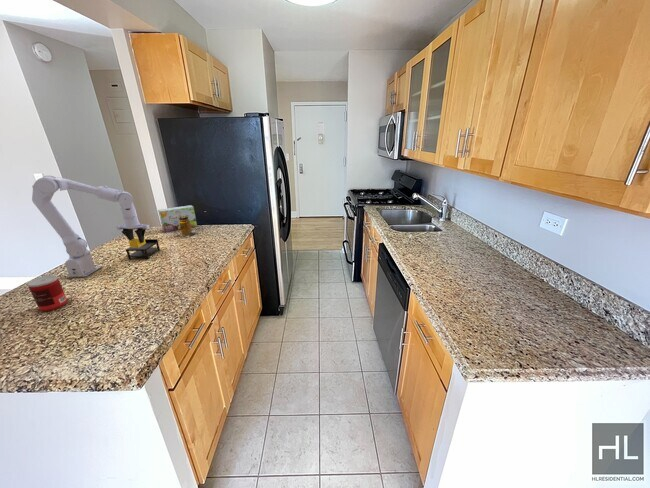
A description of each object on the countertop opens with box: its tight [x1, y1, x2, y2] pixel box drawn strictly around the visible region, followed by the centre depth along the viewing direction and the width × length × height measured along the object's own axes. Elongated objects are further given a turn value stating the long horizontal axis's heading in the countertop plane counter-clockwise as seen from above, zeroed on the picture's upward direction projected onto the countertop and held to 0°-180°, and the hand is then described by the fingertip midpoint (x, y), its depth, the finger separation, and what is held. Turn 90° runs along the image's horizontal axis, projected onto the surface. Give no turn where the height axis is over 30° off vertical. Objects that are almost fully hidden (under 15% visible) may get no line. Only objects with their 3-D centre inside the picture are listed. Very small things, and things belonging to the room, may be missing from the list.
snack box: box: [157, 204, 198, 233], centre depth 181 cm, size 21×6×15 cm, turn 132°
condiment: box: [179, 216, 197, 238], centre depth 170 cm, size 7×8×12 cm
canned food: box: [27, 274, 68, 312], centre depth 95 cm, size 8×8×11 cm
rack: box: [125, 238, 161, 260], centre depth 140 cm, size 12×10×7 cm
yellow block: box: [128, 236, 146, 248], centre depth 132 cm, size 6×4×4 cm, turn 2°
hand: (137, 242), depth 132 cm, fingers closed on yellow block, 4 cm apart
